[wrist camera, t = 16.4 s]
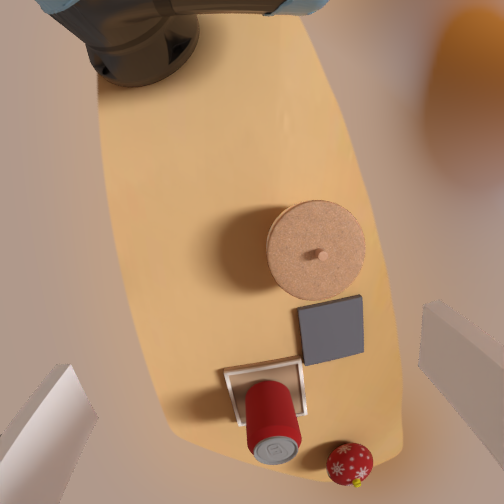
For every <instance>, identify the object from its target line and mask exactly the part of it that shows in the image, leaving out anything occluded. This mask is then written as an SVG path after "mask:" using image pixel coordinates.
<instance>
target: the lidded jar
mask: <svg viewBox="0 0 504 504" xmlns="http://www.w3.org/2000/svg"><path fill="white" fill-rule="evenodd" d="M266 253H267V261H268V266H269V268H270V271H271V274H272V276H273V277H274V279H275V281H276V282H277V283H278V284H279V286H280V287H281V288H282V289H284V290H285V291H286V292H287V293H289V294H291V295H292V296H294V297H297V298H299V299H304V300H311V301H316V300H324V299H328V298H331V297H333V296H336V295H337V294H339V293H341V292H342V291H344V290H345V289H346V288H348V287H349V286H350V284H351V283H352V282H353V281H354V280H355V278H356V277H357V276H358V274H359V272H360V270H361V268H362V265H363V262H364V257H365V238H364V235H363V231H362V229H361V227H360V224H359V223H358V221H357V220H356V218H355V217H354V216H353V215H352V214H351V213H350V212H349V211H348V210H346V209H345V208H344V207H342V206H340V205H338V204H335V203H332V202H329V201H322V200H312V201H304V202H300V203H297V204H294V205H292V206H290V207H289V208H287V209H285V210H284V211H283V212H282V213H281V214H280V215H279V216H278V217H277V218H276V219H275V221H274V222H273V224H272V226H271V228H270V230H269V233H268V237H267V243H266Z"/></svg>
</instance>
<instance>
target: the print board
mask: <svg viewBox="0 0 504 504" xmlns="http://www.w3.org/2000/svg"><path fill="white" fill-rule="evenodd" d="M224 376H225V380H226V383H227V387H228V391H229V394H230V398H231V401H232V405H233V409H234V412H235V416H236V419H237V422H238V426H246V409H245V396H246V393H247V392H248V390H249V389H250V388H251V387H252V386H253V385H255V384H257V383H259V382H263V381H277V382H280V383H282V384H284V385H285V386H286V387H287V388H288V389H289V391H290V394H291V398H292V401H293V405H294V409H295V413H296V417H299V416H304V415H307V406H306V396H305V387H304V378H303V369H302V361H301V357H300V355H297V356H292V357H287V358H281V359H276V360H271V361H265V362H259V363H253V364H247V365H241V366H234V367H227V368H224Z"/></svg>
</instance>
